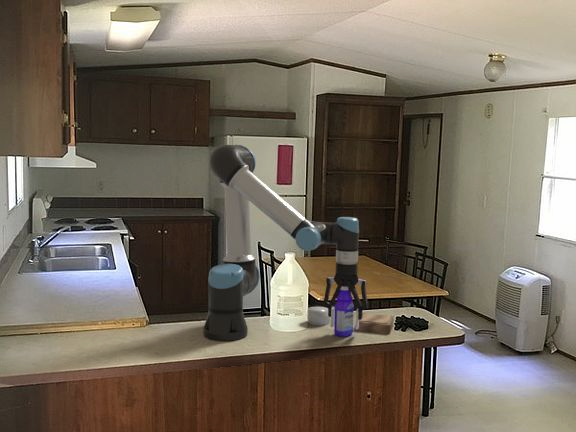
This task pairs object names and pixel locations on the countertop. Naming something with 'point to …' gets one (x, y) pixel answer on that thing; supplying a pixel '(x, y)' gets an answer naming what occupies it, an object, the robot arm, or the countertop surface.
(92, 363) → the countertop surface
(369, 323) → the base
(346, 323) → the bottle
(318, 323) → the grey rounded block
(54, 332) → the countertop surface
